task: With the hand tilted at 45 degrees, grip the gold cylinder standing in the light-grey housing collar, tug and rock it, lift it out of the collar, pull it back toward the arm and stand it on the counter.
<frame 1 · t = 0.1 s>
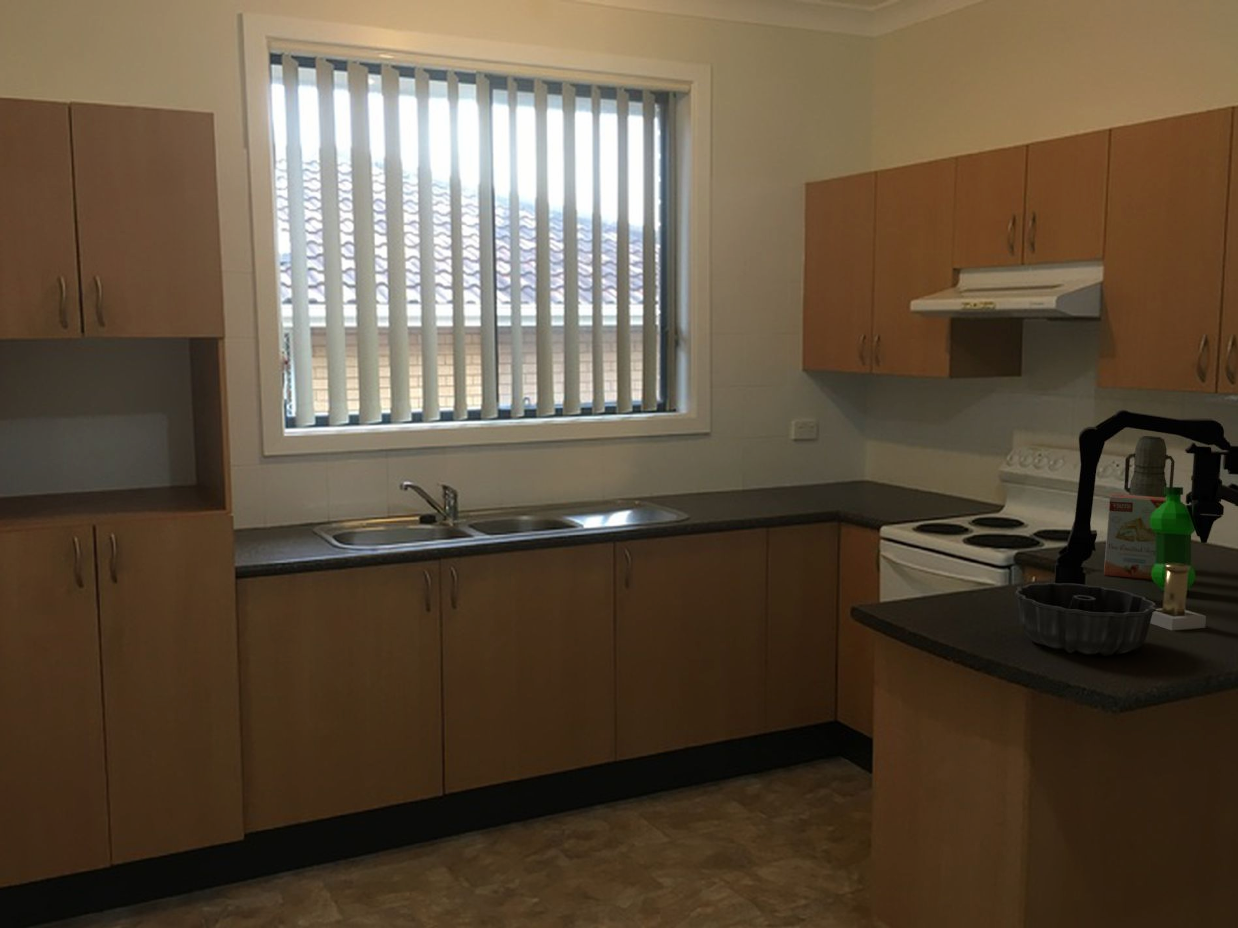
hand: (1201, 539, 276), 15 cm above the worktop, tool pointing down, fingers open, 9 cm apart
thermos: (1141, 567, 317), on the worktop
plastic bottle: (1173, 591, 287), on the worktop, touching gripper
housing: (1172, 623, 257), on the worktop
gold cylinder: (1174, 594, 256), in the housing
bundt pan: (1081, 645, 239), on the worktop
cracker box: (1133, 577, 305), on the worktop
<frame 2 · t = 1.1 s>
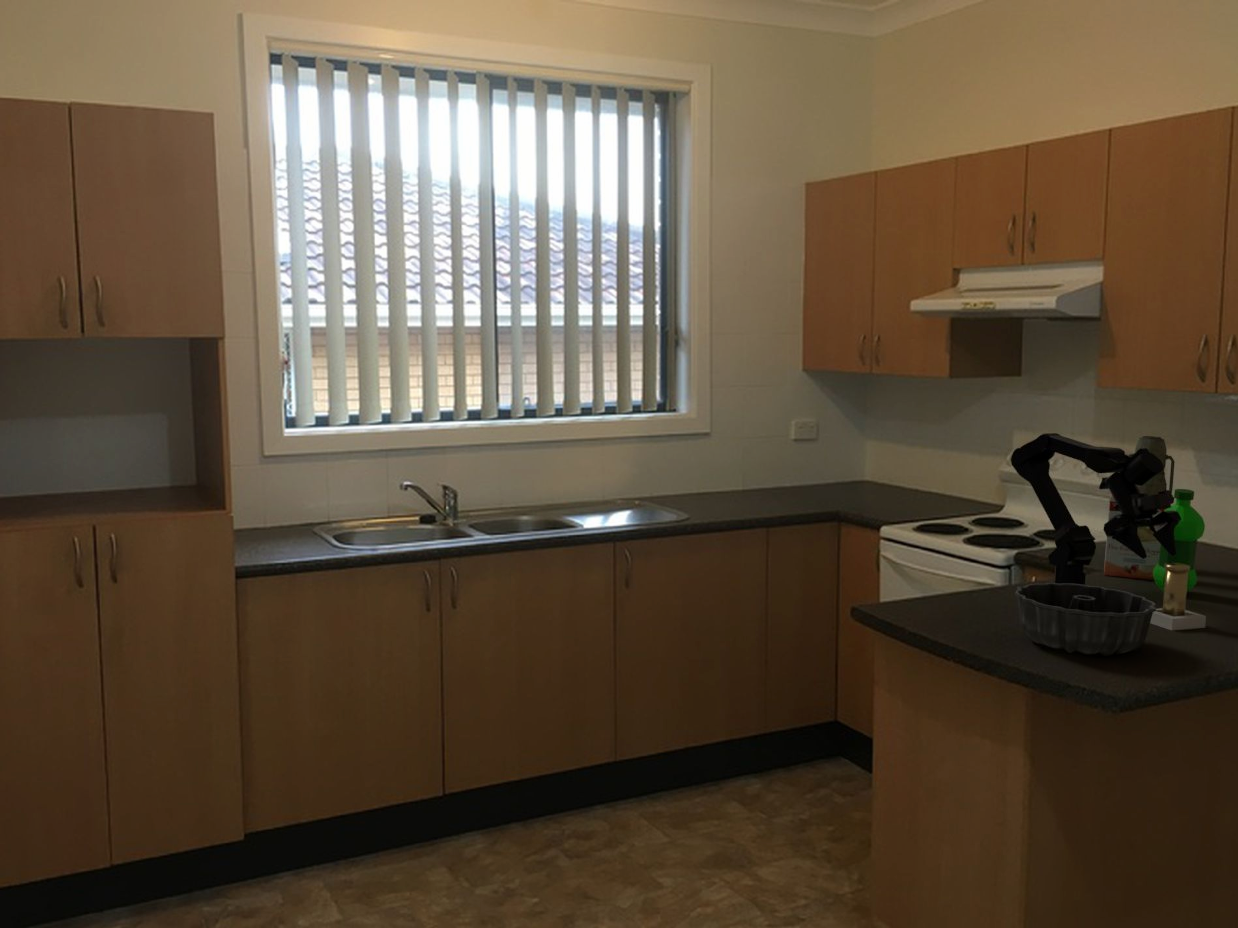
hand: (1159, 556, 263), 13 cm above the worktop, tool tilted 40°, fingers open, 9 cm apart
plastic bottle: (1172, 591, 287), on the worktop
everything else where it was.
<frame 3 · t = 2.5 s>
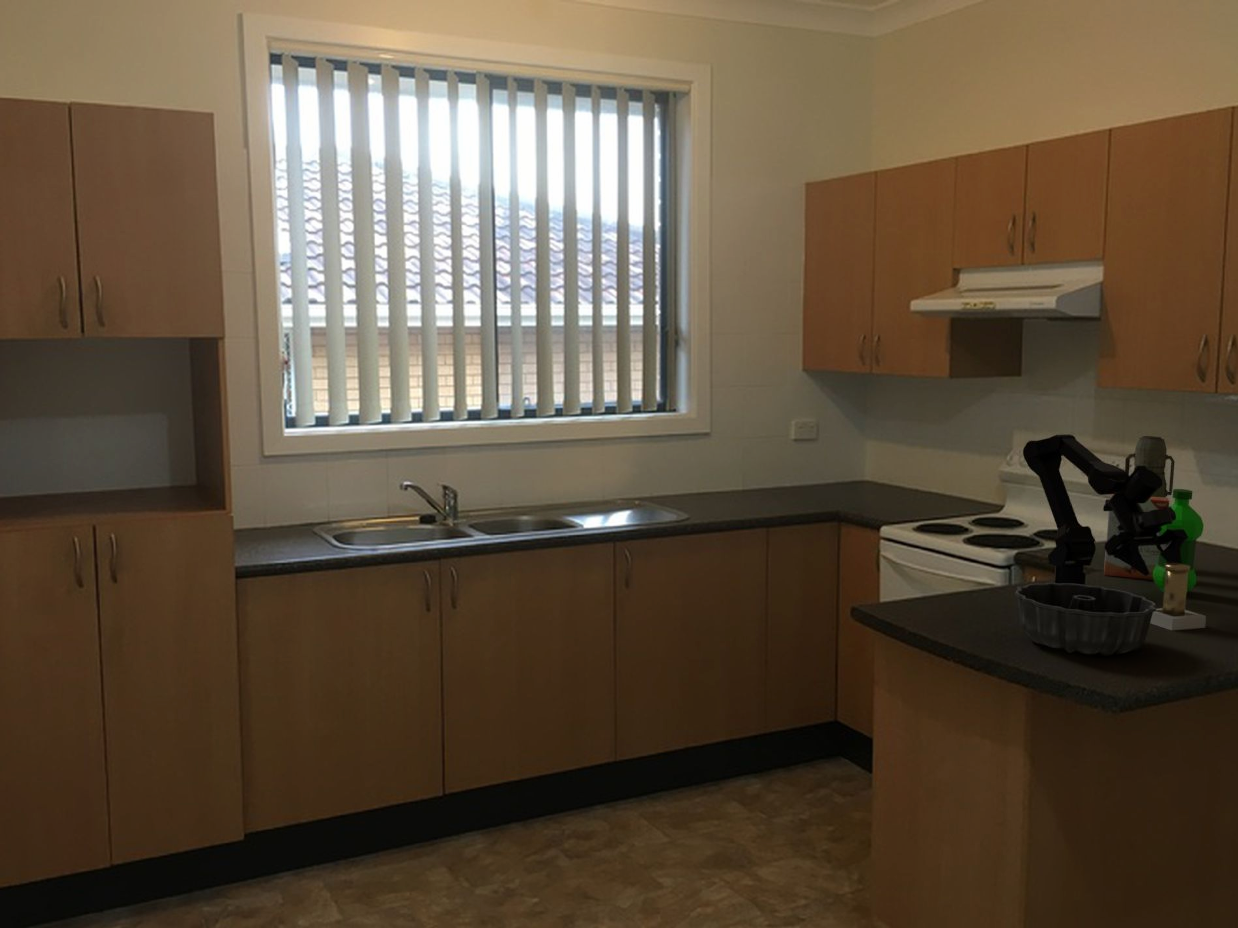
hand: (1164, 573, 259), 10 cm above the worktop, tool tilted 45°, fingers open, 9 cm apart
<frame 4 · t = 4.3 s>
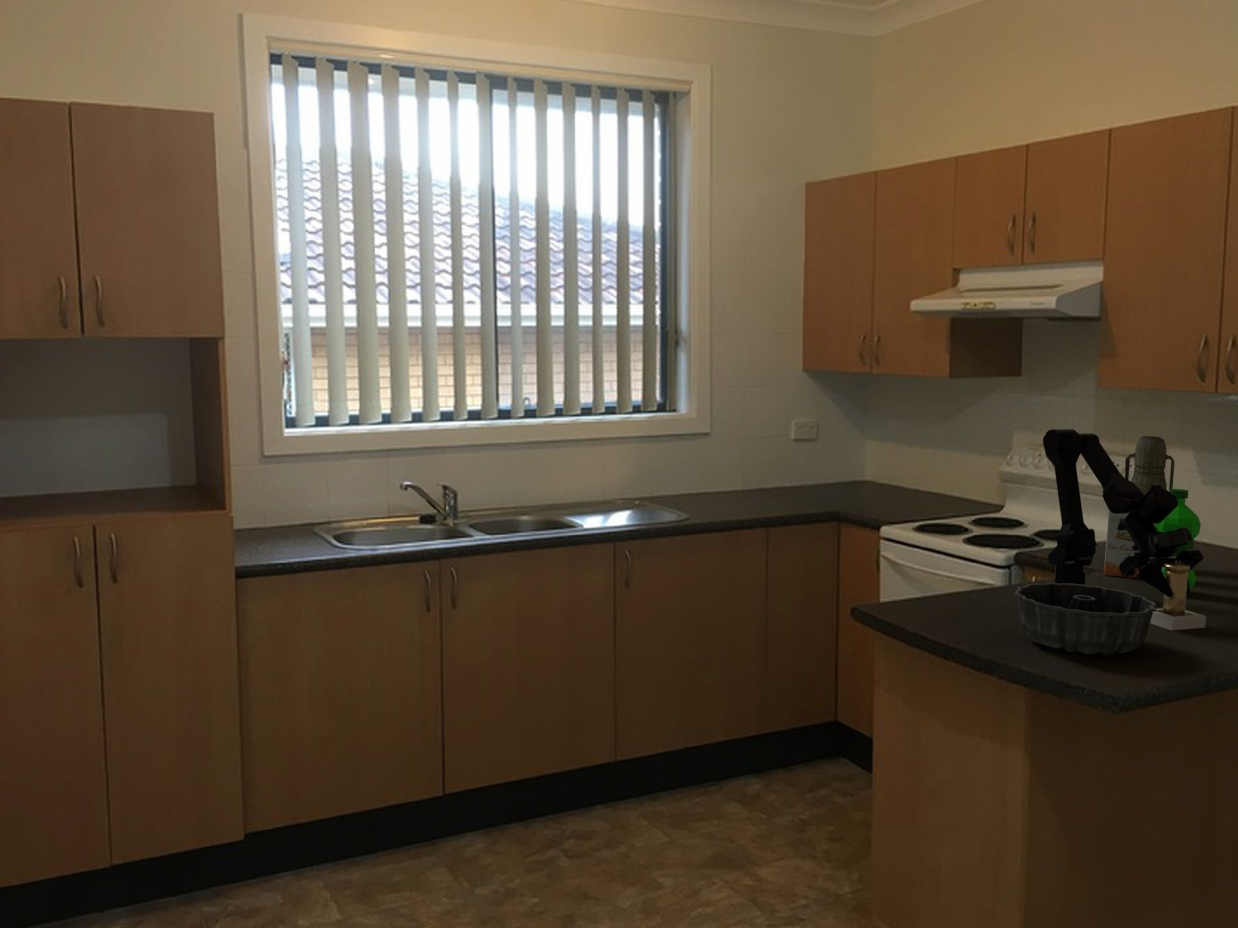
hand: (1180, 595, 255), 7 cm above the worktop, tool tilted 45°, fingers closed on gold cylinder, 4 cm apart
gold cylinder: (1175, 594, 256), in the housing, touching gripper
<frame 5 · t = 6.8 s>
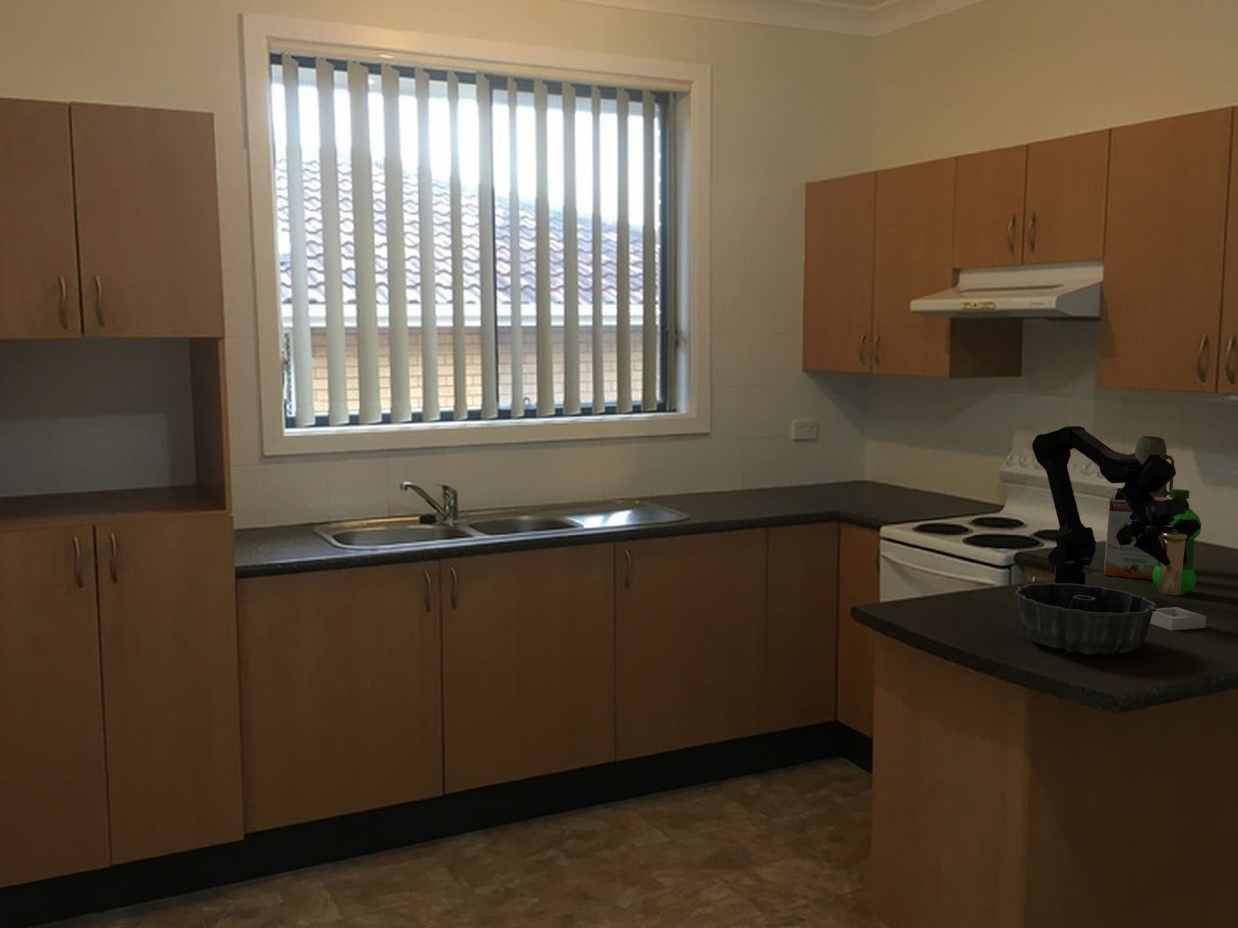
hand: (1176, 564, 255), 13 cm above the worktop, tool tilted 45°, fingers closed on gold cylinder, 4 cm apart
gold cylinder: (1171, 563, 256), point 13 cm above the worktop, touching gripper
when the fingers open (7 cm above the worktop, at t = 9.2 s): gold cylinder stays where it is, on the worktop.
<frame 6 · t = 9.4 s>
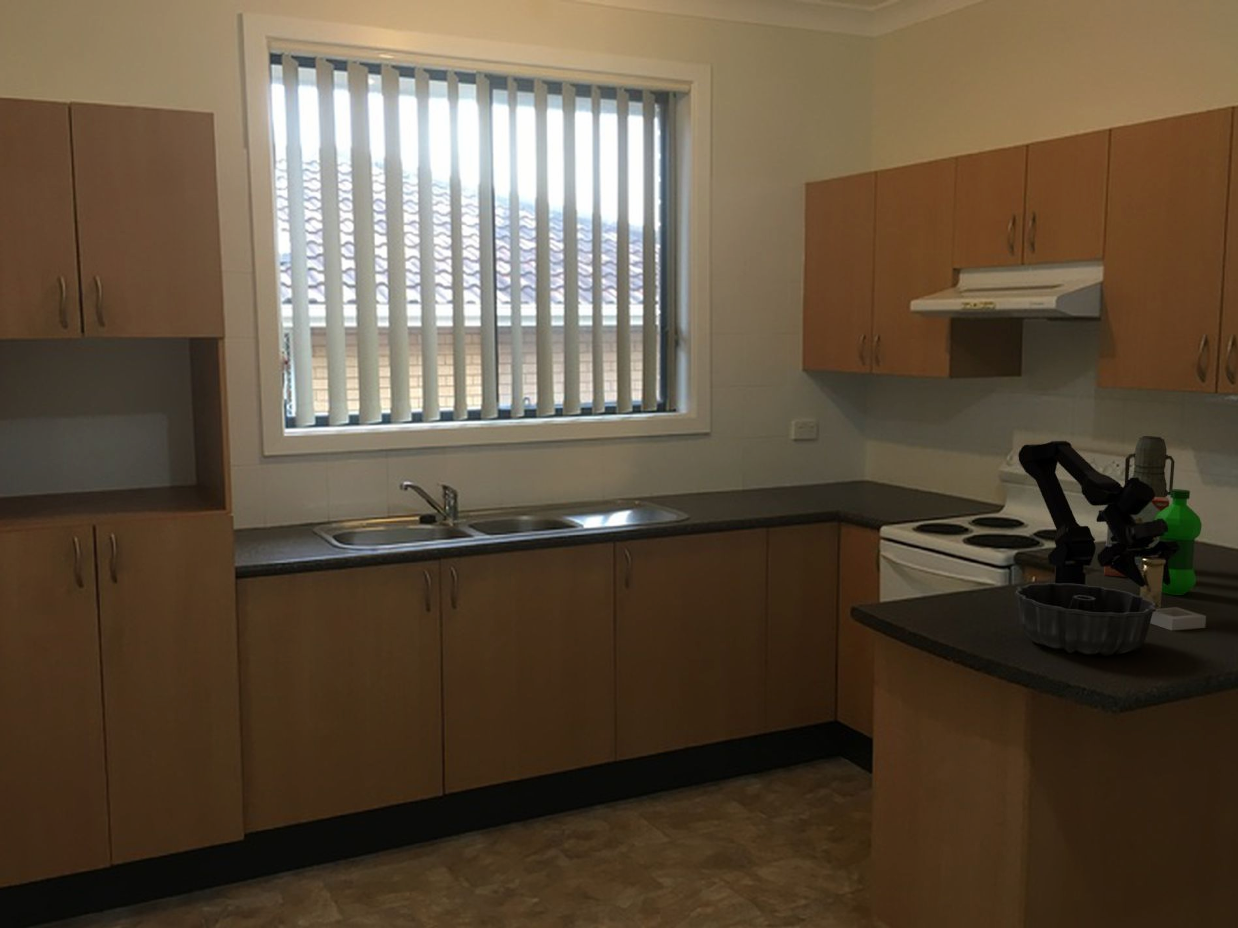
hand: (1156, 585, 261), 7 cm above the worktop, tool tilted 45°, fingers open, 7 cm apart
gold cylinder: (1151, 587, 262), on the worktop
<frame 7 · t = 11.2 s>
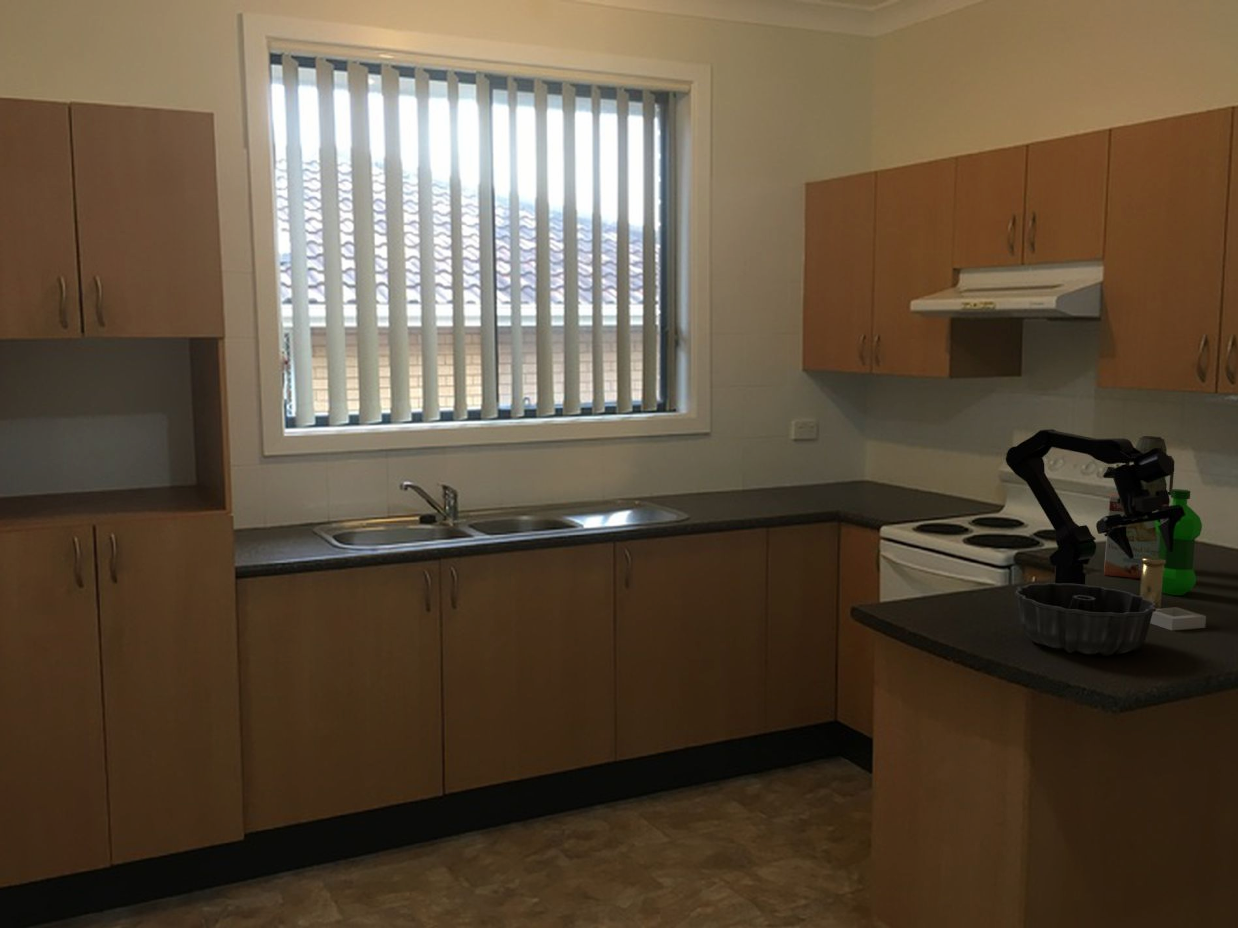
hand: (1151, 555, 268), 13 cm above the worktop, tool tilted 30°, fingers open, 9 cm apart
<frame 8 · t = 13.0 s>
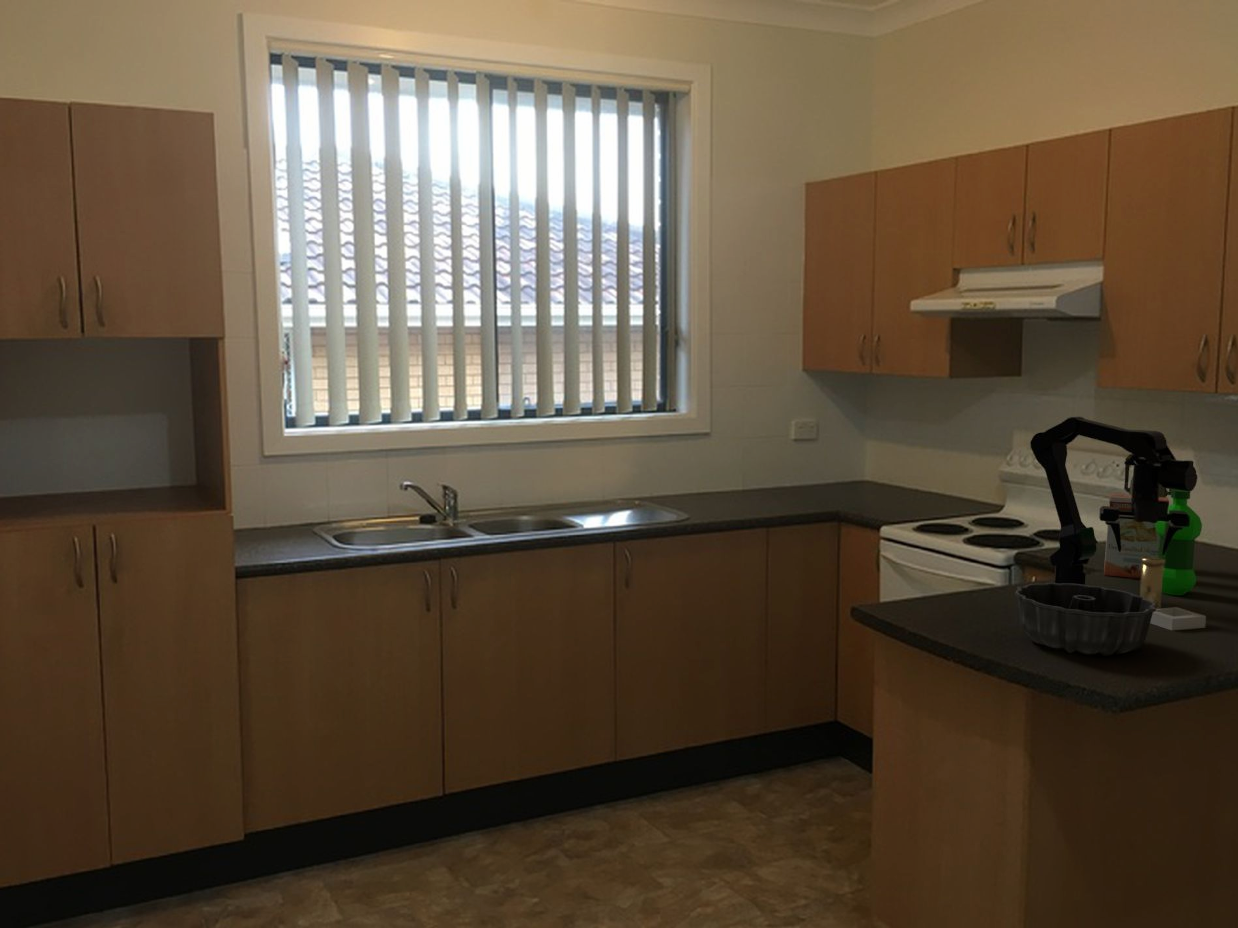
hand: (1141, 553, 273), 12 cm above the worktop, tool pointing down, fingers open, 9 cm apart
at the end: gold cylinder inside the target area (0.5 cm from its centre), on the worktop; gold cylinder tilted 0°; gold cylinder moved 7.0 cm from its start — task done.
